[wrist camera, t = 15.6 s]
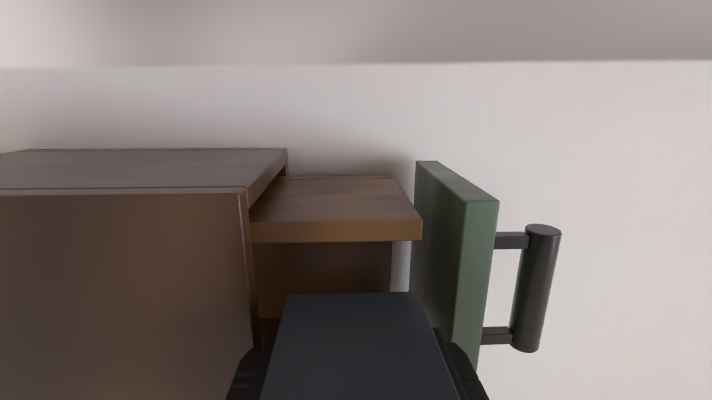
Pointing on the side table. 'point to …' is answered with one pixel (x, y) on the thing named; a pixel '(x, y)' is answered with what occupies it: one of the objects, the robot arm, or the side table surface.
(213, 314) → the cabinet
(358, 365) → the block
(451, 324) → the drawer
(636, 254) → the side table surface
